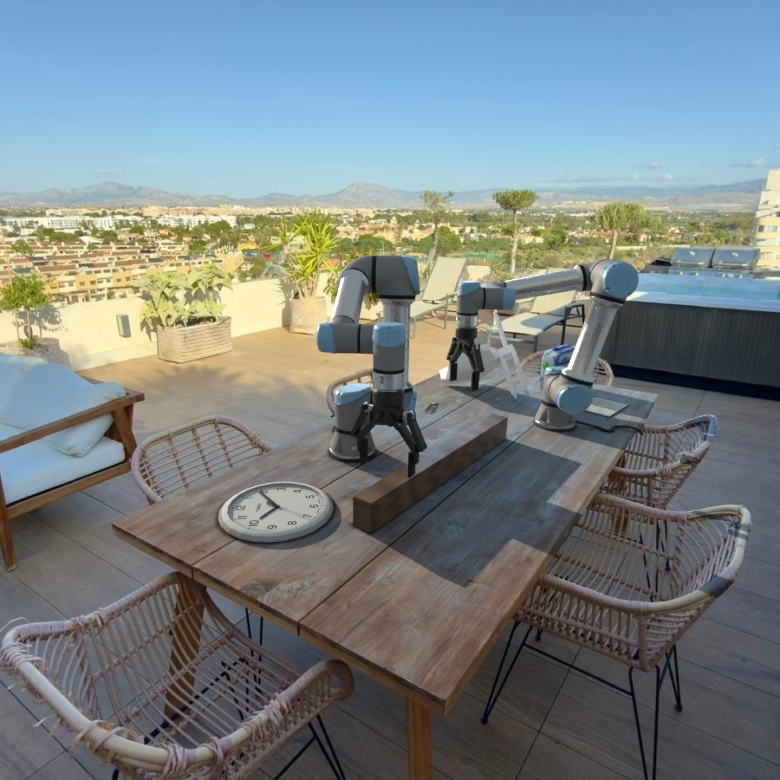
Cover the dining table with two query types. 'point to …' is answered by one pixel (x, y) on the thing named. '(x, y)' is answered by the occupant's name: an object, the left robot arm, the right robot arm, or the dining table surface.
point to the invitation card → (605, 406)
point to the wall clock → (275, 512)
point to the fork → (432, 403)
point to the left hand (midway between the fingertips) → (386, 469)
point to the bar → (425, 473)
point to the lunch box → (556, 359)
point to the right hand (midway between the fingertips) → (463, 385)
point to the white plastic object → (489, 363)
